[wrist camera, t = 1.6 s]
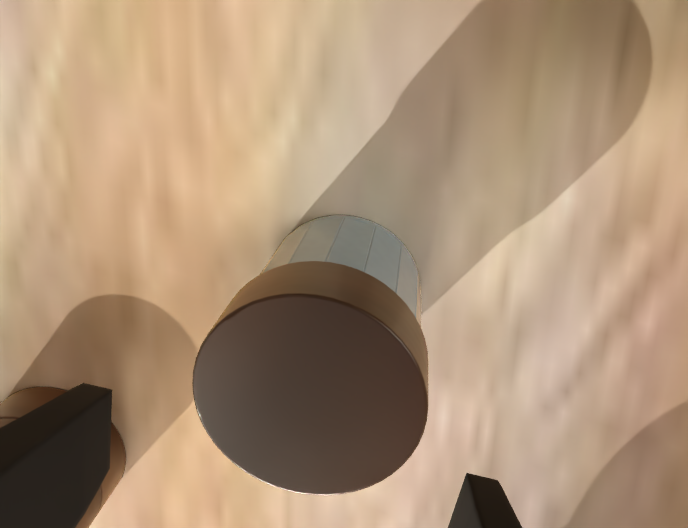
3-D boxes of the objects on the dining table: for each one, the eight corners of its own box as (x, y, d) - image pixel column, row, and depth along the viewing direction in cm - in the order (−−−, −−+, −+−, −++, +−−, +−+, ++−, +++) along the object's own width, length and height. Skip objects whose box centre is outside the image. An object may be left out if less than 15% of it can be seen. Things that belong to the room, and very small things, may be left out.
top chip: (473, 346, 15) (479, 391, 13) (345, 477, 17) (336, 531, 15) (292, 216, 14) (271, 244, 12) (182, 369, 16) (151, 412, 15)
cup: (453, 276, 19) (459, 347, 15) (360, 379, 21) (344, 467, 17) (324, 183, 19) (295, 229, 14) (241, 297, 20) (194, 368, 16)
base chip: (150, 439, 23) (126, 474, 22) (91, 519, 26) (65, 557, 24) (26, 360, 23) (-9, 390, 21) (-24, 448, 25) (-60, 483, 23)
